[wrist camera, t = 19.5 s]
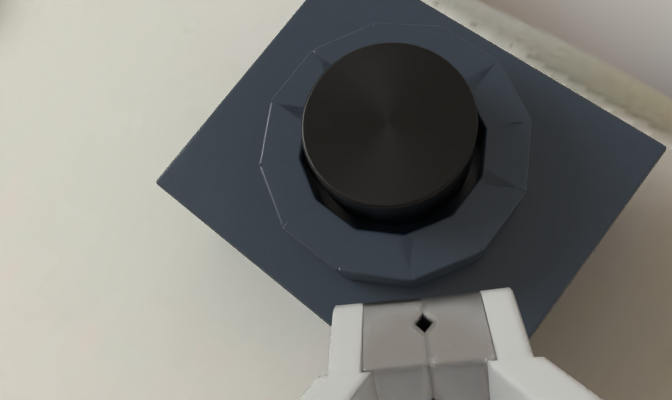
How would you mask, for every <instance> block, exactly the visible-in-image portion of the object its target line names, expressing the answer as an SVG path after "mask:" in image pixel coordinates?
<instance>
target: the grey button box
mask: <svg viewBox="0 0 672 400" xmlns="http://www.w3.org/2000/svg"><path fill="white" fill-rule="evenodd" d="M386 42H399V43H407V44H412V45H417V46H420V47H423V48H426V49H428V50H431V51H433V52H434V53H436V54H438V55H440V56H441V57H443V58H444V59H446V60H447V61H448V62H450V63H451V64H452V65H453V66H454V67H455V68H456V69H457V70H458V71H459V72H460V74H461V75H462V76H463V77H464V79H465V80H466V82H467V84H468V85H469V87H470V89H471V91H472V94H473V96H474V99H475V102H476V106H477V112H478V134H477V139H476V145H475V149H474V154H473V158H472V163H471V167H470V170H469V173H468V175H467V178H466V180H465V182H464V184H463V185H462V187H461V188H460V190H459V191H458V193H457V194H456V195H455V196H454V197H453V199H452V200H451V201H450V202H449V203H447V204H446V205H445V206H444V207H443V208H441V209H440V210H438V211H437V212H435V213H434V214H432V215H430V216H428V217H426V218H424V219H421V220H418V221H415V222H411V223H407V224H399V225H382V224H376V223H371V222H368V221H365V220H362V219H360V218H357V217H355V216H353V215H351V214H350V213H348V212H347V211H345V210H344V209H342V208H341V207H340V206H339V205H338V204H337V203H336V202H335V201H334V200H333V199H332V198H331V197H330V196H329V194H328V193H327V191H326V190H325V188H324V187H323V185H322V184H321V182H320V181H319V179H318V178H317V176H316V175H315V173H314V172H313V170H312V169H311V167H310V165H309V163H308V161H307V159H306V156H305V153H304V150H303V146H302V140H301V118H302V113H303V109H304V105H305V102H306V100H307V97H308V95H309V93H310V91H311V89H312V87H313V86H314V84H315V83H316V81H317V80H318V78H319V77H320V76H321V75H322V74H323V73H324V71H325V70H326V69H327V68H328V67H330V66H331V65H332V64H333V63H334V62H335V61H337V60H338V59H340V58H341V57H343V56H344V55H346V54H348V53H350V52H352V51H354V50H357V49H359V48H362V47H365V46H369V45H373V44H378V43H386ZM665 151H666V146H664V145H663V144H661V143H659V142H658V141H656V140H654V139H653V138H651V137H649V136H648V135H646V134H644V133H643V132H641V131H639V130H637V129H636V128H634V127H632V126H631V125H629V124H627V123H626V122H624V121H622V120H621V119H619V118H617V117H616V116H614V115H612V114H611V113H609V112H607V111H605V110H604V109H602V108H600V107H599V106H597V105H595V104H594V103H592V102H590V101H589V100H587V99H585V98H584V97H582V96H580V95H579V94H577V93H575V92H574V91H572V90H570V89H568V88H567V87H565V86H563V85H562V84H560V83H558V82H557V81H555V80H553V79H552V78H550V77H548V76H547V75H545V74H543V73H542V72H540V71H538V70H536V69H535V68H533V67H531V66H530V65H528V64H526V63H525V62H523V61H521V60H520V59H518V58H516V57H515V56H513V55H511V54H510V53H508V52H506V51H505V50H503V49H501V48H499V47H498V46H496V45H494V44H493V43H491V42H489V41H488V40H486V39H484V38H483V37H481V36H479V35H478V34H476V33H474V32H473V31H471V30H469V29H468V28H466V27H464V26H462V25H461V24H459V23H457V22H456V21H454V20H452V19H451V18H449V17H447V16H446V15H444V14H442V13H441V12H439V11H437V10H436V9H434V8H432V7H430V6H429V5H427V4H425V3H424V2H422V1H420V0H306V1H305V2H304V3H303V4H302V6H301V7H300V8H299V9H298V10H297V12H296V13H295V14H294V15H293V16H292V18H291V19H290V20H289V21H288V23H287V24H286V25H285V26H284V27H283V29H282V30H281V31H280V32H279V33H278V35H277V36H276V37H275V38H274V39H273V41H272V42H271V43H270V44H269V46H268V47H267V48H266V49H265V50H264V52H263V53H262V54H261V55H260V56H259V58H258V59H257V60H256V61H255V62H254V64H253V65H252V66H251V67H250V69H249V70H248V71H247V72H246V73H245V75H244V76H243V77H242V78H241V79H240V81H239V82H238V83H237V84H236V85H235V87H234V88H233V89H232V90H231V92H230V93H229V94H228V95H227V96H226V98H225V99H224V100H223V101H222V102H221V104H220V105H219V106H218V107H217V108H216V110H215V111H214V112H213V113H212V114H211V116H210V117H209V118H208V119H207V121H206V122H205V123H204V124H203V125H202V127H201V128H200V129H199V130H198V131H197V133H196V134H195V135H194V136H193V137H192V139H191V140H190V141H189V142H188V144H187V145H186V146H185V147H184V148H183V150H182V151H181V152H180V153H179V154H178V156H177V157H176V158H175V159H174V160H173V162H172V163H171V164H170V165H169V167H168V168H167V169H166V170H165V171H164V173H163V174H162V175H161V176H160V177H159V179H158V180H157V182H156V183H157V185H159V186H160V187H161V188H162V189H163V190H165V191H166V192H167V193H168V194H170V195H171V196H172V197H173V198H174V199H176V200H177V201H178V202H179V203H181V204H182V205H183V206H184V207H186V208H187V209H188V210H189V211H190V212H192V213H193V214H194V215H195V216H197V217H198V218H199V219H200V220H201V221H203V222H204V223H205V224H206V225H208V226H209V227H210V228H211V229H212V230H214V231H215V232H216V233H217V234H219V235H220V236H221V237H222V238H223V239H225V240H226V241H227V242H228V243H230V244H231V245H232V246H233V247H234V248H236V249H237V250H238V251H239V252H241V253H242V254H243V255H244V256H245V257H247V258H248V259H249V260H250V261H252V262H253V263H254V264H255V265H256V266H258V267H259V268H260V269H261V270H263V271H264V272H265V273H266V274H267V275H269V276H270V277H271V278H272V279H274V280H275V281H276V282H277V283H278V284H280V285H281V286H282V287H283V288H285V289H286V290H287V291H288V292H290V293H291V294H292V295H293V296H294V297H296V298H297V299H298V300H299V301H301V302H302V303H303V304H304V305H305V306H307V307H308V308H309V309H310V310H312V311H313V312H314V313H315V314H316V315H318V316H319V317H320V318H321V319H323V320H324V321H325V322H326V323H327V324H329V325H330V326H331V327H332V316H333V310H334V308H335V306H336V305H347V304H359V303H363V304H364V303H366V302H378V301H391V300H403V299H415V298H427V297H436V296H445V295H454V294H464V293H473V292H480V291H484V290H492V289H500V288H507V287H509V288H510V289H511V290H512V291H513V293H514V296H515V299H516V302H517V305H518V308H519V311H520V315H521V318H522V321H523V324H524V327H525V330H526V333H527V336H528V339H530V338H531V336H532V335H533V334H534V332H535V331H536V329H537V328H538V327H539V325H540V324H541V322H542V321H543V320H544V318H545V317H546V316H547V314H548V313H549V311H550V310H551V309H552V307H553V306H554V304H555V303H556V302H557V300H558V299H559V298H560V296H561V295H562V293H563V292H564V291H565V289H566V288H567V286H568V285H569V284H570V282H571V281H572V280H573V278H574V277H575V275H576V274H577V273H578V271H579V270H580V268H581V267H582V266H583V264H584V263H585V262H586V260H587V259H588V257H589V256H590V255H591V253H592V252H593V250H594V249H595V248H596V246H597V245H598V244H599V242H600V241H601V239H602V238H603V237H604V235H605V234H606V232H607V231H608V230H609V228H610V227H611V226H612V224H613V223H614V221H615V220H616V219H617V217H618V216H619V214H620V213H621V212H622V210H623V209H624V208H625V206H626V205H627V203H628V202H629V201H630V199H631V198H632V196H633V195H634V194H635V192H636V191H637V190H638V188H639V187H640V185H641V184H642V183H643V181H644V180H645V178H646V177H647V176H648V174H649V173H650V172H651V170H652V169H653V167H654V166H655V165H656V163H657V162H658V160H659V159H660V158H661V156H662V155H663V153H664V152H665Z"/></svg>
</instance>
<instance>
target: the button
mask: <svg viewBox="0 0 672 400" xmlns="http://www.w3.org/2000/svg"><path fill="white" fill-rule="evenodd" d="M477 134H478V112H477V106H476V102H475V99H474V96H473V94H472V91H471V89H470V87H469V85H468V84H467V82H466V80H465V79H464V77H463V76H462V75H461V74H460V72H459V71H458V70H457V69H456V68H455V67H454V66H453V65H452V64H451V63H450V62H448V61H447V60H446V59H444V58H443V57H441V56H440V55H438V54H436V53H434V52H433V51H431V50H428V49H426V48H423V47H420V46H417V45H412V44H407V43H399V42H386V43H378V44H373V45H369V46H365V47H362V48H359V49H357V50H354V51H352V52H350V53H348V54H346V55H344V56H343V57H341V58H340V59H338V60H337V61H335V62H334V63H333V64H332V65H331V66H330V67H328V68H327V69H326V70H325V71H324V73H323V74H322V75H321V76H320V77H319V78H318V80H317V81H316V83H315V84H314V86H313V87H312V89H311V91H310V93H309V95H308V97H307V100H306V102H305V105H304V109H303V113H302V118H301V140H302V146H303V150H304V153H305V156H306V159H307V161H308V163H309V165H310V167H311V169H312V170H313V172H314V173H315V175H316V176H317V178H318V179H319V181H320V182H321V184H322V185H323V187H324V188H325V190H326V191H327V193H328V194H329V196H330V197H331V198H332V199H333V200H334V201H335V202H336V203H337V204H338V205H339V206H340V207H341V208H342V209H344V210H345V211H347V212H348V213H350V214H351V215H353V216H355V217H357V218H360V219H362V220H365V221H368V222H371V223H376V224H382V225H399V224H407V223H411V222H415V221H418V220H421V219H424V218H426V217H428V216H430V215H432V214H434V213H435V212H437V211H438V210H440V209H441V208H443V207H444V206H445V205H446V204H447V203H449V202H450V201H451V200H452V199H453V197H454V196H455V195H456V194H457V193H458V191H459V190H460V188H461V187H462V185H463V184H464V182H465V180H466V178H467V175H468V173H469V170H470V167H471V163H472V158H473V154H474V149H475V145H476V139H477Z"/></svg>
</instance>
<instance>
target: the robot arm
mask: <svg viewBox="0 0 672 400" xmlns="http://www.w3.org/2000/svg"><path fill="white" fill-rule="evenodd" d="M299 400H603V399H601V398H600V397H599V396H597V395H596V394H595V393H593V392H592V391H590V390H589V389H588V388H586V387H585V386H584V385H582V384H581V383H579V382H578V381H577V380H575V379H574V378H573V377H571V376H570V375H569V374H567V373H566V372H564V371H563V370H562V369H560V368H559V367H558V366H556V365H555V364H554V363H552V362H551V361H549V360H548V359H547V358H545V357H534V354H533V351H532V348H531V345H530V342H529V339H528V336H527V333H526V330H525V327H524V324H523V321H522V318H521V315H520V311H519V308H518V305H517V302H516V299H515V296H514V293H513V291H512V290H511V289H510V288H509V287H507V288H500V289H492V290H484V291H480V292H473V293H464V294H454V295H445V296H436V297H427V298H415V299H403V300H391V301H378V302H366V303H364V304H363V303H359V304H347V305H336V306H335V308H334V310H333V316H332V328H331V340H330V352H329V363H328V375H327V376H319V377H318V378H317V379H316V380H315V381H314V383H313V384H312V385H311V386H310V387H309V388H308V389H307V391H306V392H305V393H304V394H303V395H302V396H301V397H300V399H299Z"/></svg>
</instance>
